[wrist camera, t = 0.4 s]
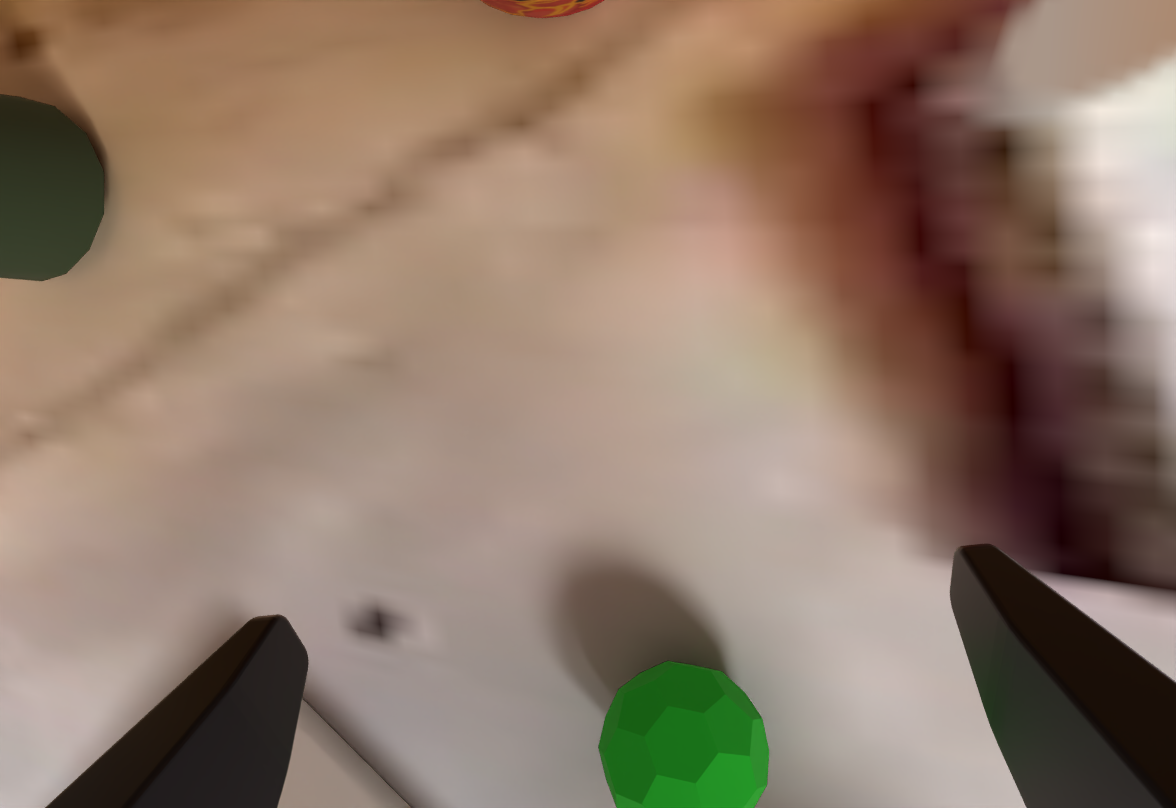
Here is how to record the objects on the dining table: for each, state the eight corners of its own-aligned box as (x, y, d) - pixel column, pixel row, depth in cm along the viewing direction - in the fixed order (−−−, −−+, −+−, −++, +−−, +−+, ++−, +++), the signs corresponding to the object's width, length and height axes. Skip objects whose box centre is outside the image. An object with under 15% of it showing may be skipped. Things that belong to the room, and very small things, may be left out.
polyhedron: (800, 712, 24) (808, 816, 19) (697, 801, 25) (681, 917, 21) (684, 605, 24) (664, 681, 20) (588, 698, 26) (548, 789, 21)
